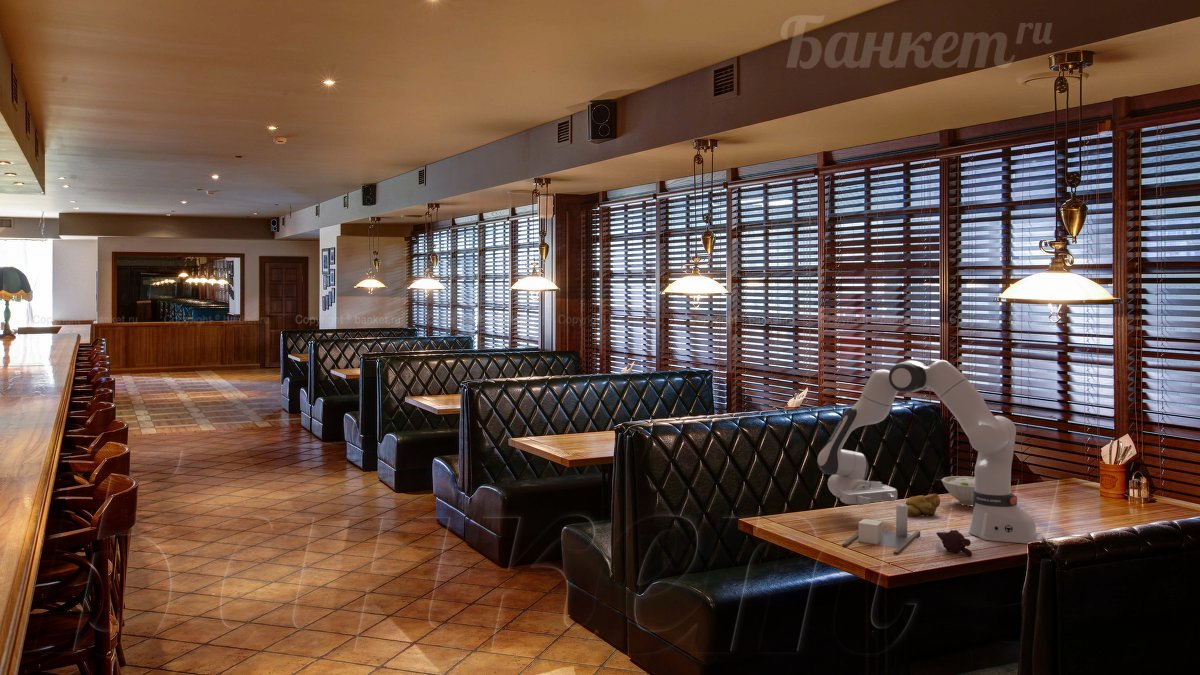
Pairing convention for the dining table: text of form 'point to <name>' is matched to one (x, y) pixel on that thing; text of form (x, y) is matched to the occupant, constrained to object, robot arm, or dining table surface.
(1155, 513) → the dining table surface
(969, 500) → the bowl
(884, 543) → the board
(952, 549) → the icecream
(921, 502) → the bread roll
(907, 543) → the rails
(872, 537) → the block
